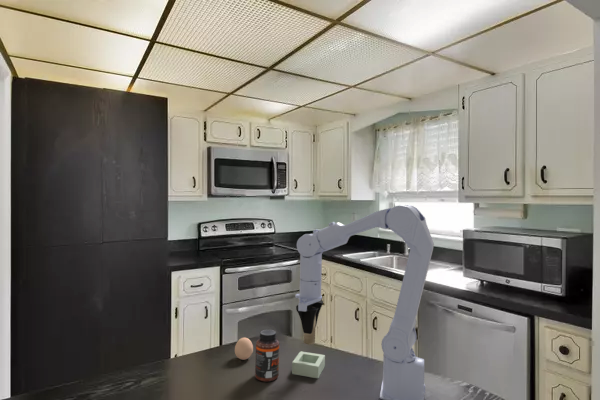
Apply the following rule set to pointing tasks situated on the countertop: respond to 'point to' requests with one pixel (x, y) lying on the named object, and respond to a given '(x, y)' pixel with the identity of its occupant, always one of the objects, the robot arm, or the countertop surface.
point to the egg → (243, 348)
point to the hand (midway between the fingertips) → (309, 330)
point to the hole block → (308, 364)
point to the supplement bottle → (267, 356)
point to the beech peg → (310, 335)
